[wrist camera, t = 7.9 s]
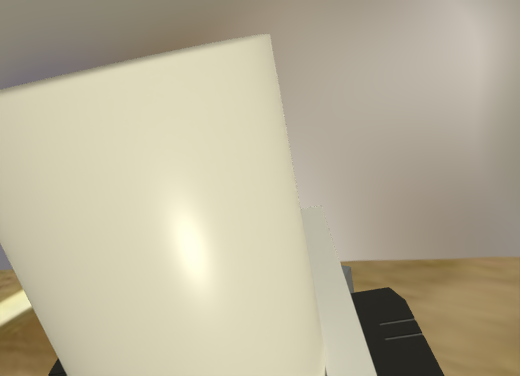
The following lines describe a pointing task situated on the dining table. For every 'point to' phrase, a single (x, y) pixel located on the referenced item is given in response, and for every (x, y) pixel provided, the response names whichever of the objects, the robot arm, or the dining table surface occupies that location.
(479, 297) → the dining table surface
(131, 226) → the pin
